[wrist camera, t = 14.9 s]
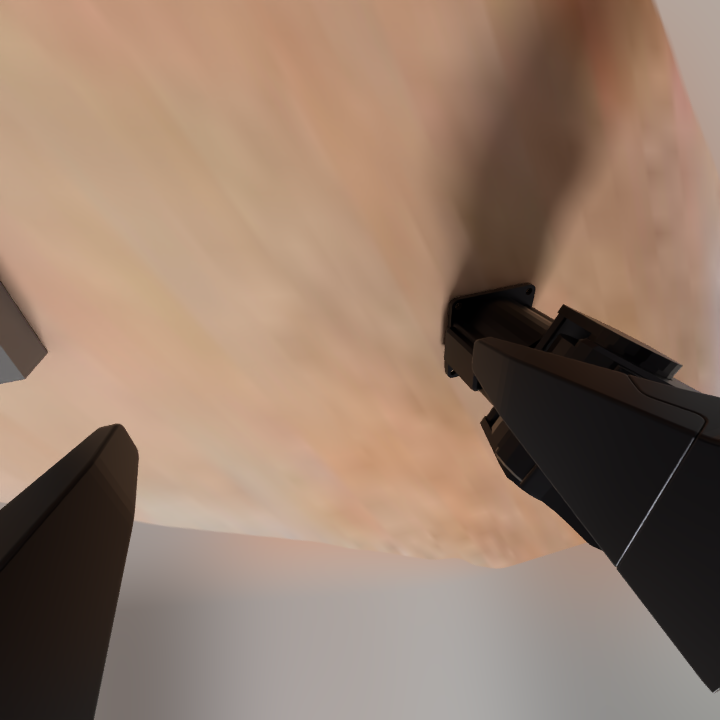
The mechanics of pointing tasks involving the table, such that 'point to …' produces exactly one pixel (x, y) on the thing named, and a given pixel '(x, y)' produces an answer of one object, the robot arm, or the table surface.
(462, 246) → the table surface
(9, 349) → the square socket block
